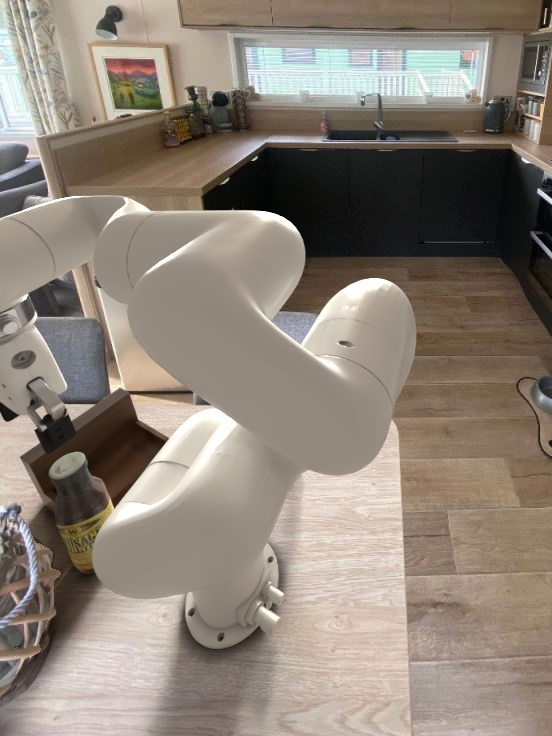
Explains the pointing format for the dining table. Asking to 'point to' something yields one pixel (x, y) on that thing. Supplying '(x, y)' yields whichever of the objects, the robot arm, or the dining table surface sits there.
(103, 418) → the brown wooden box
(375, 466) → the dining table surface
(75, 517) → the sauce bottle
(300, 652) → the dining table surface
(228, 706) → the dining table surface
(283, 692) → the dining table surface
